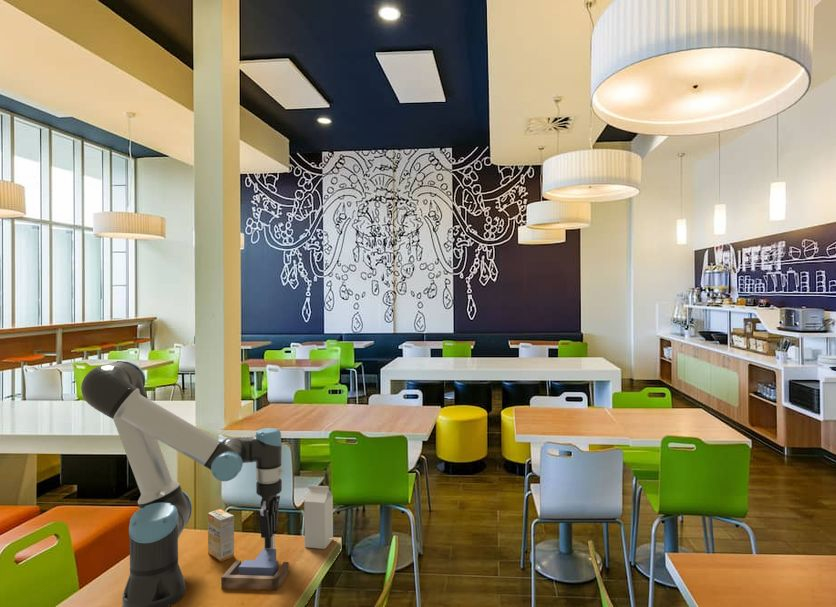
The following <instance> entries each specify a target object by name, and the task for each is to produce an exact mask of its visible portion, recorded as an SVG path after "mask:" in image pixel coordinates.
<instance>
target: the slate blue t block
mask: <svg viewBox="0 0 836 607" xmlns="http://www.w3.org/2000/svg"><path fill="white" fill-rule="evenodd" d="M278 569H279V560H277V549H276V548H275V549H264V548H263V549H262V550H261V552H259V553H258V555H257V556H256V557H255V559H244V560H243V561H241V565H240V566H239V574H238V575H254V576H274V575H275V574H276V572H277V571H278Z"/></svg>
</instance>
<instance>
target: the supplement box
mask: <svg viewBox="0 0 836 607" xmlns="http://www.w3.org/2000/svg"><path fill="white" fill-rule="evenodd" d="M234 539H235V516H234V514H231V513H230V512H228V511H226V510H223V509H222V508H219V509H216V510H213V511H210V512H208V513H207V553H208V554H209V555H211V556H212V557H214V558H215V559H217V560H218V561H219V562H223V561H225V560H226V561H227V560H228V559H231V558H233V557H234V556H235V540H234ZM230 557H231V558H230Z"/></svg>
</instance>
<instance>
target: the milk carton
mask: <svg viewBox="0 0 836 607" xmlns="http://www.w3.org/2000/svg"><path fill="white" fill-rule="evenodd" d="M307 486H308V489H307V492H306V495H305V498H304V500H303V501H304V502H303V503H304V505H303V509H304V510H303V511H304V512H303V513H304V522H303V523H304V548H311V549H319V550H321V549H322V550H325V549H327V547H329V545H330V543H331V542H332V541H333V540H334V514H333V513H334V509H333V508H334V504H333V503H334V502H333V501H334V500H333V497H334V496H333V494H332V491H330V487H329V486H328V485H312V484H309V485H307ZM329 538H333V539H329Z"/></svg>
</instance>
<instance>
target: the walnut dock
mask: <svg viewBox="0 0 836 607" xmlns="http://www.w3.org/2000/svg"><path fill="white" fill-rule="evenodd" d="M241 564H242V560H235V561H234V562H233V563H232V564H231V566H230V567H229V568H228V569H227V570H226V571H225V572H224V573H223V575H222V576H221V577H220V580H221V582H220V584H221V586H220V587H221V589H235V590H237V589H239V590H261V589H267V590H269V591H278V589H279V588H280V587H281V585H282V584H283V582H284V581H285V579H286V578H287V575H288V574H289V566H290V564H289V561H283V562H282V563H281V565H280V567H278V571H277V572H276V574H275V575H274V576H254V575H239V566H240V565H241ZM267 590H266V591H267Z"/></svg>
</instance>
